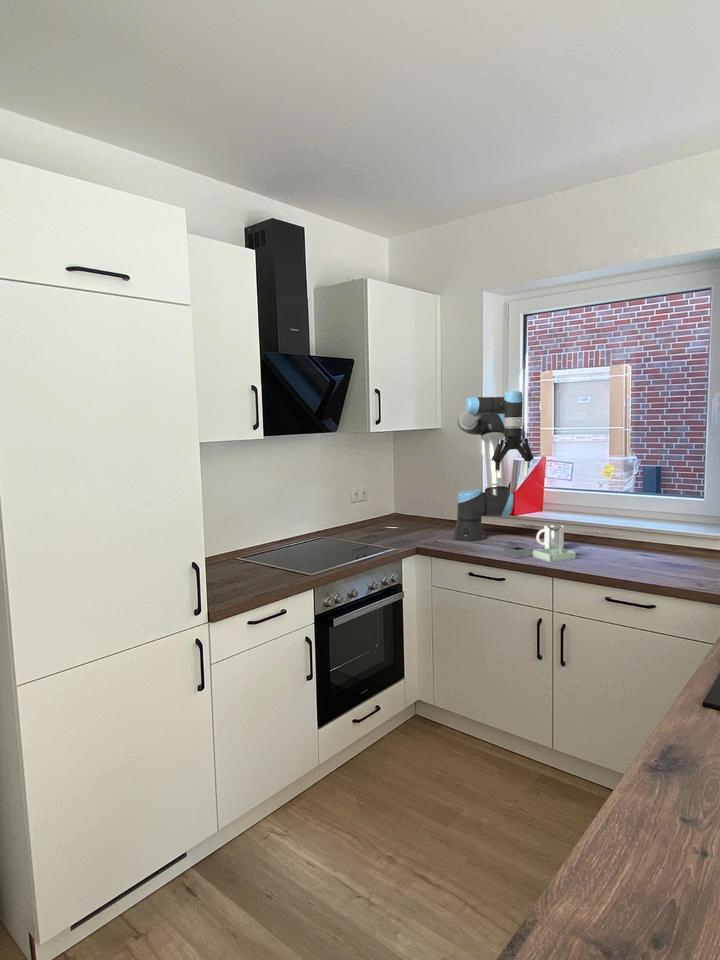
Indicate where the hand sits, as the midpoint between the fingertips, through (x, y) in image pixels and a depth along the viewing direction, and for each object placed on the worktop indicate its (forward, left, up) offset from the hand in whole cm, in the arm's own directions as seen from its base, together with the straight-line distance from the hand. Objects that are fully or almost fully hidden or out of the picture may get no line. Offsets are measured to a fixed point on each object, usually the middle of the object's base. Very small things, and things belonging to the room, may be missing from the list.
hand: (512, 477), depth 267 cm
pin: (+18, +9, -32) cm, 37 cm away
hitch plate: (+8, -2, -33) cm, 34 cm away
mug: (+3, +18, -33) cm, 38 cm away
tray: (+18, +9, -33) cm, 38 cm away
